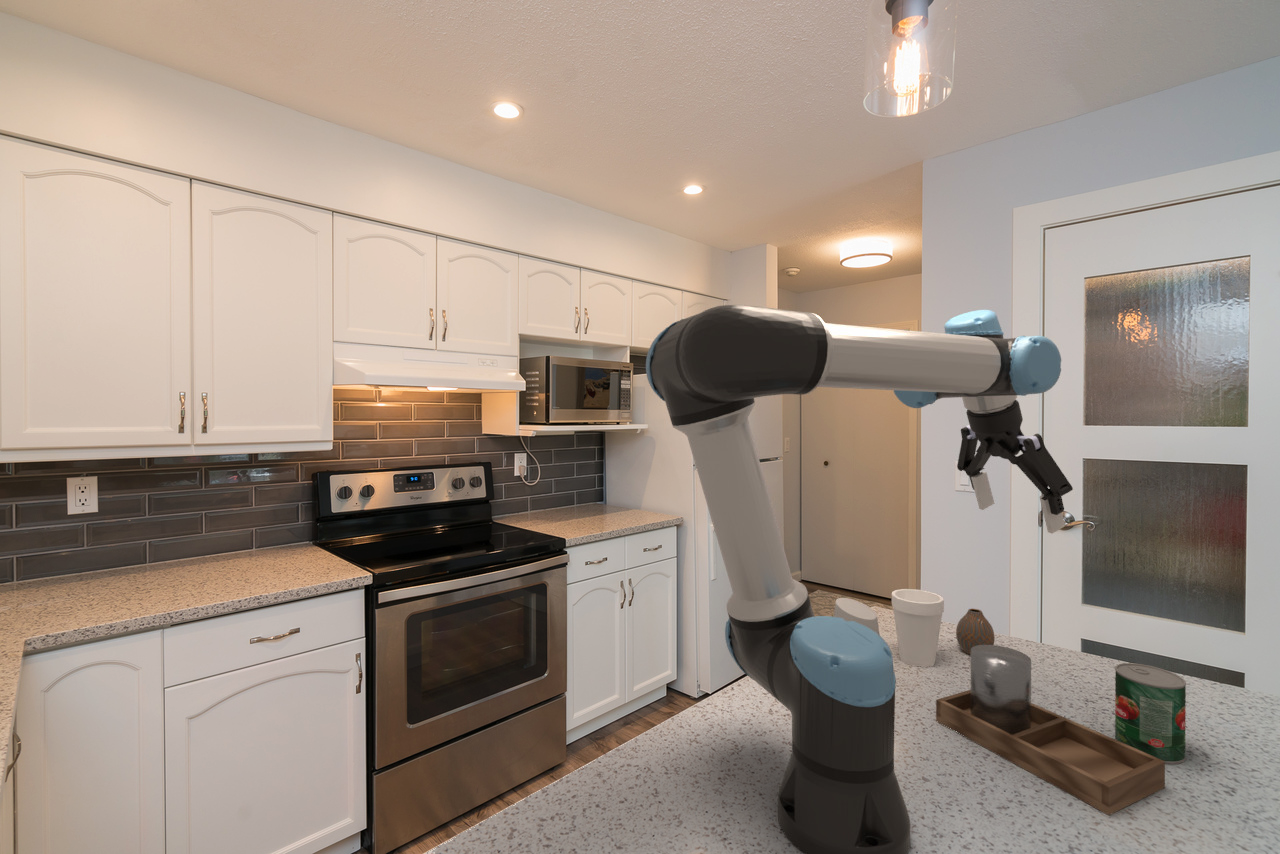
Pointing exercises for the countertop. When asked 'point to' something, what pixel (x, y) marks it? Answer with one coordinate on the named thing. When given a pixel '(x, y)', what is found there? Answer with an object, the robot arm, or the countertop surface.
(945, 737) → the countertop surface
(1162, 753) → the canned tomato
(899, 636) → the foam cup
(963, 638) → the vase
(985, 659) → the seated cylinder
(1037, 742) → the wooden divided tray
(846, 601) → the smart speaker
